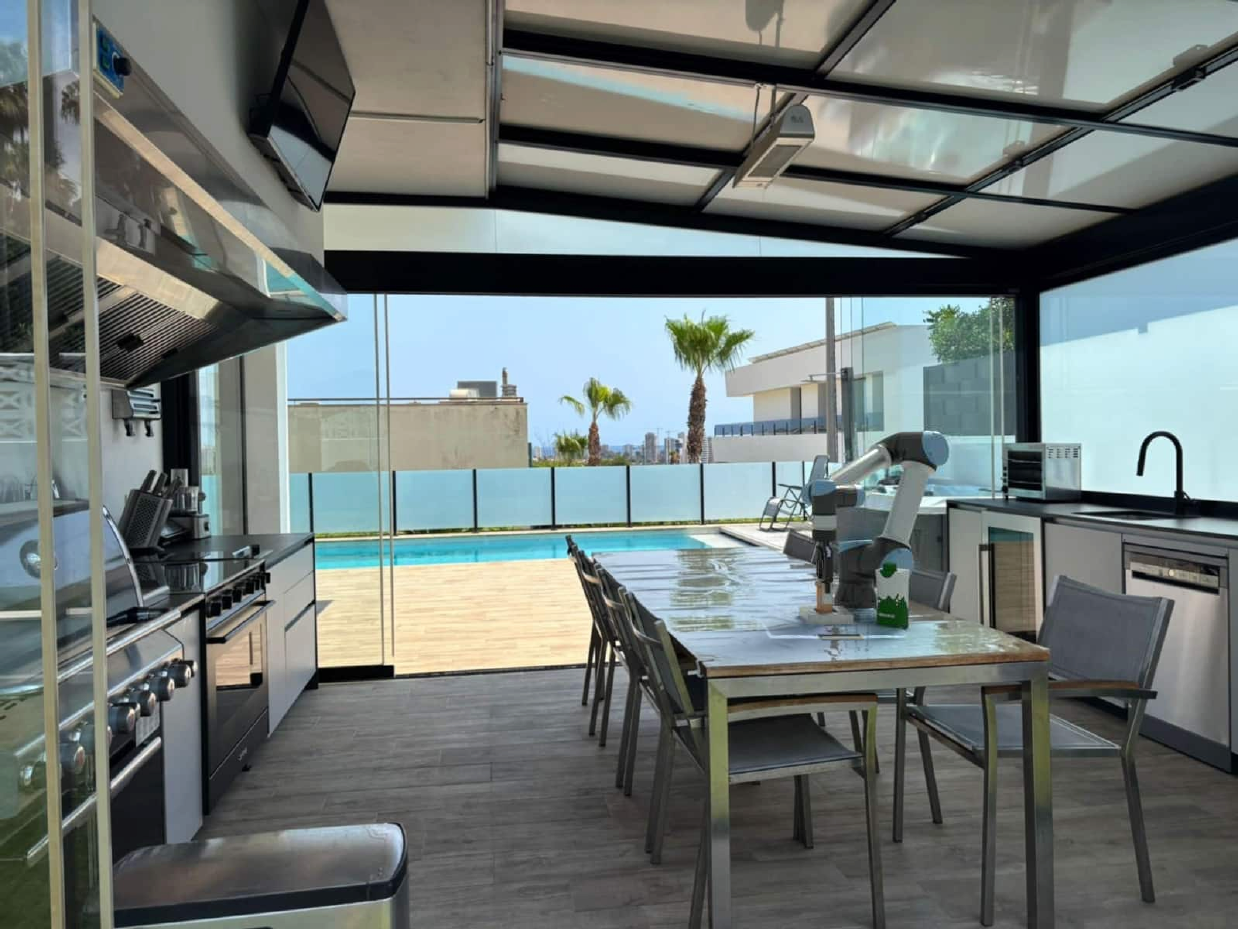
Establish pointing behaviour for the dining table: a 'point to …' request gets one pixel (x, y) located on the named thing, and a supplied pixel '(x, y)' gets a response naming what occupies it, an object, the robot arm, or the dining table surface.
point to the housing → (826, 616)
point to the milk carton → (892, 596)
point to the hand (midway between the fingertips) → (824, 601)
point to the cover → (820, 605)
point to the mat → (840, 637)
